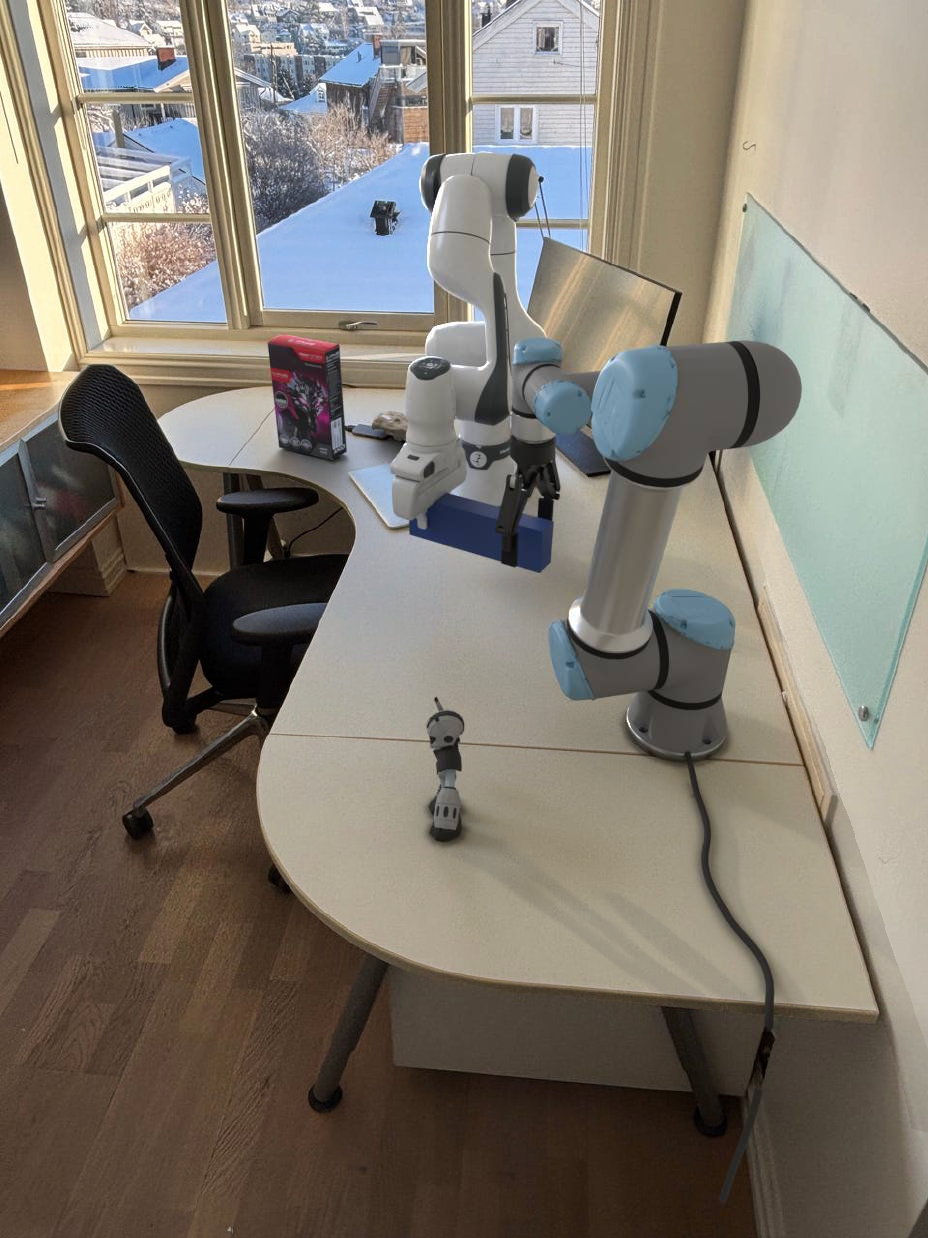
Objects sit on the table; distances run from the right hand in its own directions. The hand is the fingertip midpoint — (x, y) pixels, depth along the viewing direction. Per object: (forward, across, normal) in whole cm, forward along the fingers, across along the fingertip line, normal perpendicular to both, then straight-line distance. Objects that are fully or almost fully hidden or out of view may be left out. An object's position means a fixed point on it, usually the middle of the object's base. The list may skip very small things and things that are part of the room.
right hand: (527, 548), depth 163 cm
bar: (+3, 0, -10) cm, 10 cm away
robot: (+13, +52, +15) cm, 56 cm away
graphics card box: (+14, -38, -79) cm, 88 cm away
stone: (+14, -56, -62) cm, 84 cm away
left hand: (0, 0, -20) cm, 20 cm away
